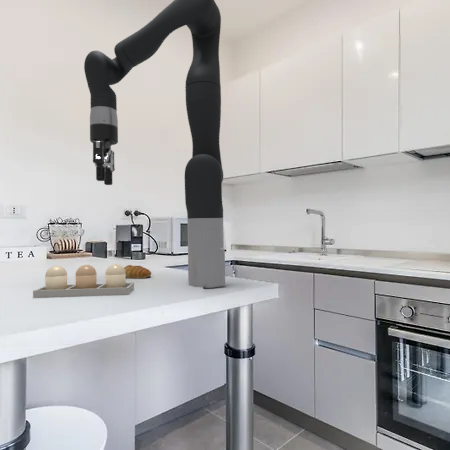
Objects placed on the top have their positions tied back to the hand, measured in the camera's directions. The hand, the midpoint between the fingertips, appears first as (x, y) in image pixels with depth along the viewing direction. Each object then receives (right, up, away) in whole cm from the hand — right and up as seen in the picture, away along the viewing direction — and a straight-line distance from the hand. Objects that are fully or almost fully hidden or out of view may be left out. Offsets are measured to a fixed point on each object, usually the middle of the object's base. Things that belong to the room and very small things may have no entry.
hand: (104, 182), depth 98 cm
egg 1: (-4, -28, -21) cm, 35 cm away
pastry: (+7, -29, +9) cm, 31 cm away
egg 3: (+9, -27, -19) cm, 35 cm away
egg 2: (+3, -27, -20) cm, 34 cm away
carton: (+3, -28, -20) cm, 34 cm away
